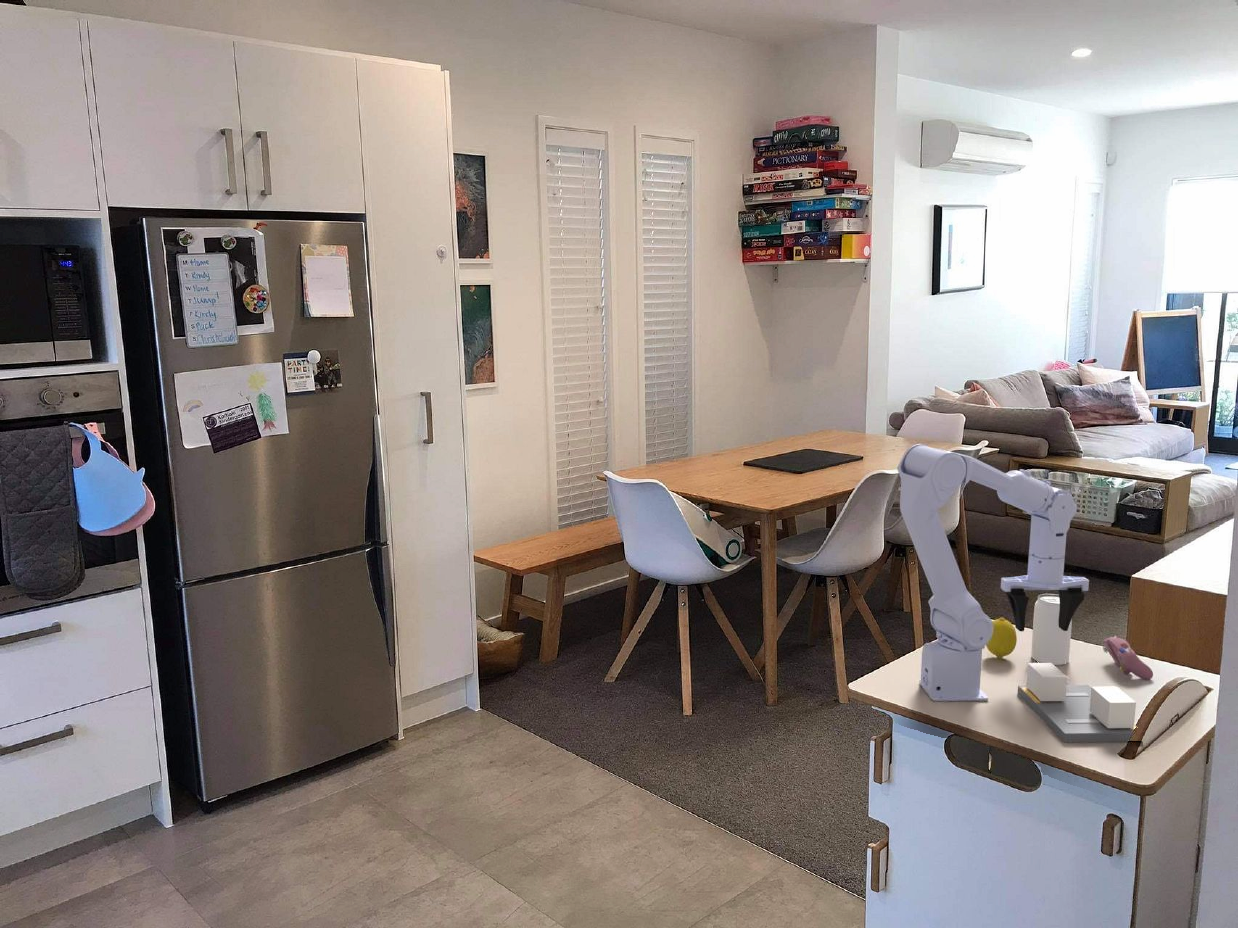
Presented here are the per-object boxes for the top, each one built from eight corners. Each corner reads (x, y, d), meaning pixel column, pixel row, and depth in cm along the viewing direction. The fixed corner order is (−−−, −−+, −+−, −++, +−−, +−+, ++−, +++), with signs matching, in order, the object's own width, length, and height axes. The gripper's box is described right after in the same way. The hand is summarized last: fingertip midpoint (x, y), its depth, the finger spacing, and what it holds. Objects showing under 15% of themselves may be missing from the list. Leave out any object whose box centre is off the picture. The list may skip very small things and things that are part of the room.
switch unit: (1064, 742, 150) (1065, 732, 150) (1017, 693, 168) (1018, 684, 167) (1142, 741, 150) (1143, 731, 150) (1087, 693, 168) (1088, 684, 167)
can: (1072, 667, 179) (1077, 605, 176) (1034, 665, 180) (1039, 603, 178) (1063, 654, 185) (1068, 593, 183) (1027, 652, 186) (1031, 592, 184)
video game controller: (1109, 667, 183) (1094, 635, 182) (1133, 657, 182) (1118, 625, 181) (1131, 689, 173) (1116, 655, 172) (1157, 678, 172) (1141, 644, 171)
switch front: (1107, 728, 151) (1110, 702, 150) (1089, 711, 156) (1091, 686, 156) (1133, 727, 151) (1136, 702, 150) (1114, 711, 156) (1116, 686, 156)
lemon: (1019, 663, 181) (1022, 622, 179) (989, 664, 181) (992, 622, 179) (1008, 652, 186) (1011, 612, 185) (979, 652, 186) (981, 612, 185)
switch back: (1041, 701, 160) (1042, 677, 160) (1026, 686, 166) (1027, 662, 166) (1065, 700, 160) (1067, 676, 160) (1049, 686, 166) (1051, 662, 166)
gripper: (1014, 561, 165) (1009, 637, 168) (1099, 560, 165) (1093, 636, 168) (998, 550, 172) (993, 623, 175) (1080, 549, 172) (1074, 622, 175)
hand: (1041, 629), depth 172 cm, fingers open, 7 cm apart
